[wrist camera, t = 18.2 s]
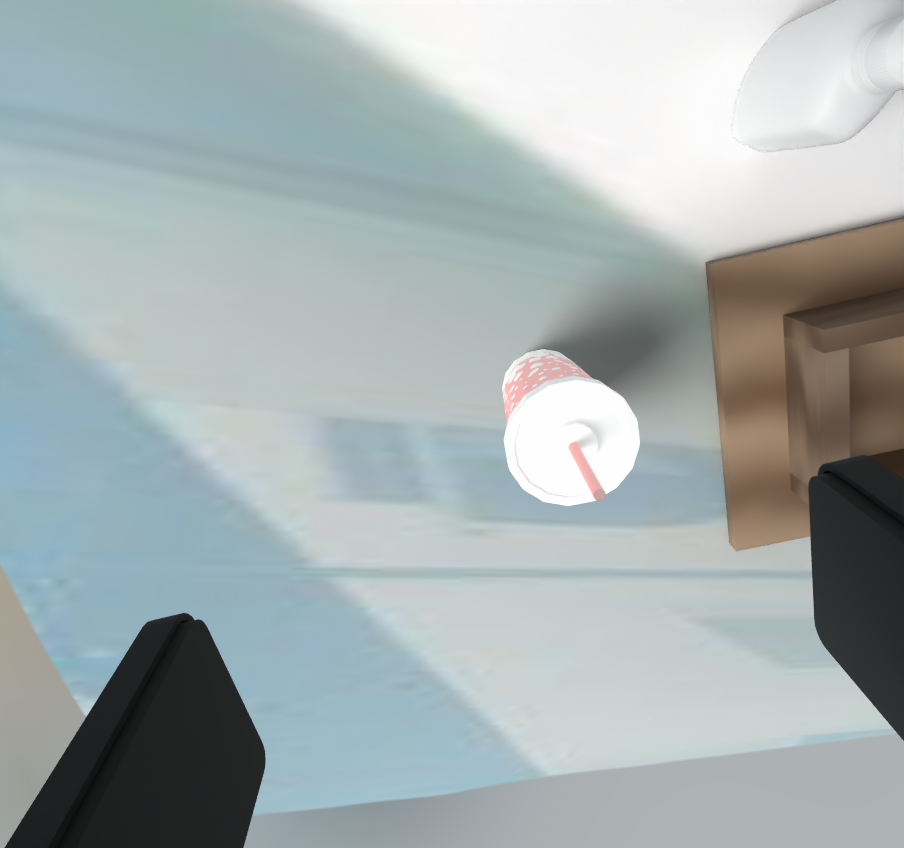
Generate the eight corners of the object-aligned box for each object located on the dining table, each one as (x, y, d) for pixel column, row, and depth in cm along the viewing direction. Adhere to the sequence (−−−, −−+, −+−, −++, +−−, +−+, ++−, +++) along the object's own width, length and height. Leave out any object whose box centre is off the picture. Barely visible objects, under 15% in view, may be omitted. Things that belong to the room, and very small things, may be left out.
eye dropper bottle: (842, 86, 32) (1058, 31, 21) (747, 166, 34) (904, 154, 22) (796, 10, 31) (1000, -90, 20) (700, 96, 32) (841, 47, 21)
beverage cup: (473, 360, 37) (494, 456, 24) (573, 319, 36) (653, 392, 23) (511, 451, 39) (550, 586, 26) (607, 413, 38) (698, 531, 25)
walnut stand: (705, 262, 35) (746, 274, 31) (1043, 186, 34) (1139, 185, 30) (729, 542, 41) (766, 588, 37) (1016, 484, 40) (1092, 523, 36)
